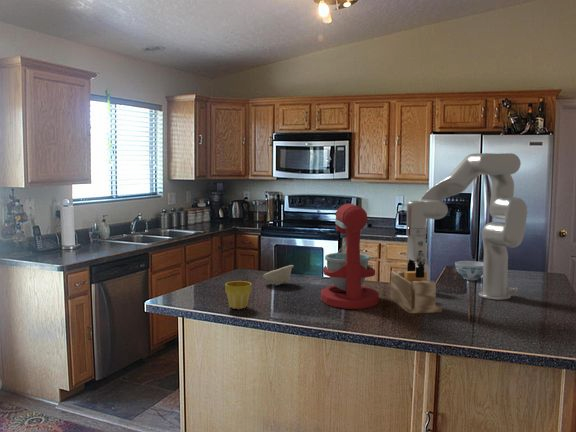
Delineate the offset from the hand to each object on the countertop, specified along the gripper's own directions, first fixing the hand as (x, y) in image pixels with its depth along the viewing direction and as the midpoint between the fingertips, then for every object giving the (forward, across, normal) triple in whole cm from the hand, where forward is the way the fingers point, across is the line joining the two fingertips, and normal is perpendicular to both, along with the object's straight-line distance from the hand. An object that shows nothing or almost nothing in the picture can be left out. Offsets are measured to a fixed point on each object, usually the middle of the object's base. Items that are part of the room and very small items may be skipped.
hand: (415, 274), depth 207 cm
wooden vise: (+12, 0, 0) cm, 12 cm away
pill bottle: (+12, +21, -10) cm, 26 cm away
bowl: (+12, +43, +51) cm, 68 cm away
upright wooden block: (+9, 0, 0) cm, 9 cm away
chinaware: (+12, +44, -44) cm, 63 cm away
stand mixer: (+12, +11, +24) cm, 29 cm away
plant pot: (+12, +4, +70) cm, 71 cm away
